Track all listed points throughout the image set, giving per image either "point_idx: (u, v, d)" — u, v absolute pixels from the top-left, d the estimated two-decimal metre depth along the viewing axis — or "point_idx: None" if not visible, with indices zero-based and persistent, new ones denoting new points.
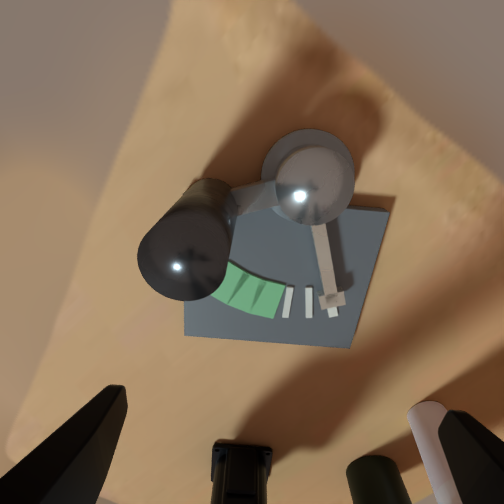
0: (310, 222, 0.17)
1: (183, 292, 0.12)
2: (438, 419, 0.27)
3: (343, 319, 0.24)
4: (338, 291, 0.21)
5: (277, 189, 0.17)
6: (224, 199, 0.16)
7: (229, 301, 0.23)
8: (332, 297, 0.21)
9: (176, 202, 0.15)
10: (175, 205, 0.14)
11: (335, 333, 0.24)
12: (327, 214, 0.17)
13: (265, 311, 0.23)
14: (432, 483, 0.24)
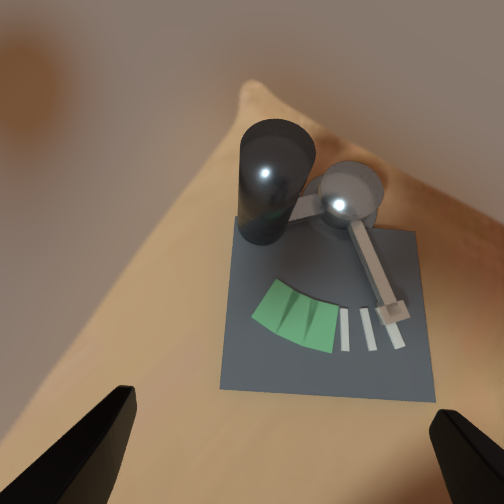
0: (355, 213, 0.20)
1: (277, 174, 0.13)
2: None
3: (413, 353, 0.20)
4: (397, 301, 0.20)
5: (323, 188, 0.20)
6: None
7: (278, 329, 0.20)
8: (393, 307, 0.20)
9: None
10: None
11: (410, 376, 0.19)
12: (367, 206, 0.20)
13: (321, 342, 0.20)
14: None
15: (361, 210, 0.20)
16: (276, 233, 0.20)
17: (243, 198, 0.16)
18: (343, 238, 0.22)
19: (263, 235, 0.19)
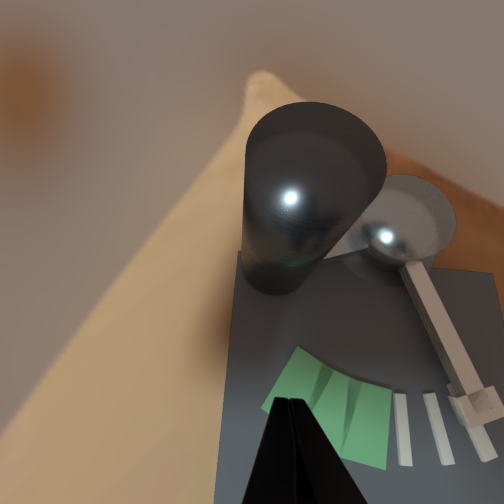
0: (416, 252, 0.13)
1: (318, 202, 0.07)
2: None
3: None
4: (484, 387, 0.13)
5: (367, 213, 0.14)
6: None
7: None
8: (480, 399, 0.13)
9: None
10: None
11: None
12: (435, 242, 0.14)
13: (369, 450, 0.13)
14: None
15: (425, 247, 0.13)
16: (299, 282, 0.13)
17: (250, 236, 0.10)
18: (391, 283, 0.16)
19: (280, 285, 0.13)
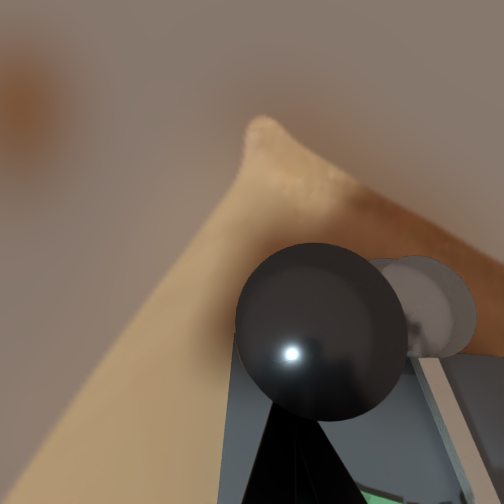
0: (432, 352, 0.12)
1: (322, 395, 0.06)
2: None
3: None
4: None
5: None
6: None
7: None
8: None
9: None
10: None
11: None
12: (452, 340, 0.12)
13: None
14: None
15: (442, 347, 0.12)
16: None
17: (243, 365, 0.09)
18: None
19: None
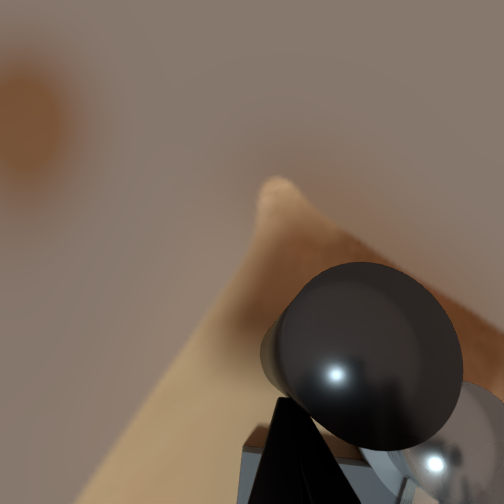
0: (438, 492, 0.10)
1: (327, 397, 0.06)
2: None
3: None
4: None
5: None
6: None
7: None
8: None
9: None
10: None
11: None
12: (469, 503, 0.10)
13: None
14: None
15: (452, 498, 0.10)
16: None
17: (272, 336, 0.09)
18: None
19: (275, 386, 0.11)
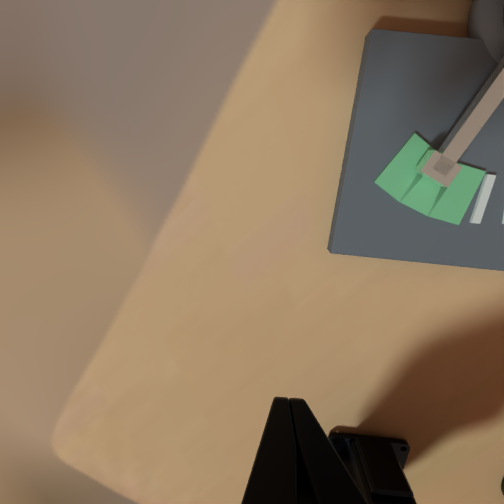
0: None
1: None
2: None
3: None
4: (456, 163, 0.16)
5: None
6: None
7: (403, 197, 0.17)
8: (445, 164, 0.15)
9: None
10: None
11: None
12: None
13: (451, 213, 0.17)
14: None
15: None
16: None
17: None
18: None
19: None
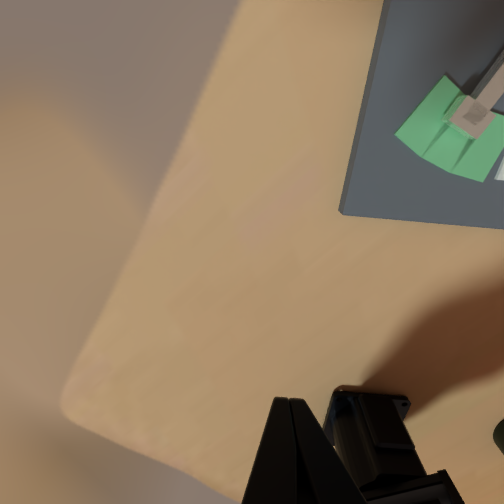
0: None
1: None
2: None
3: None
4: (489, 111, 0.14)
5: None
6: None
7: (426, 151, 0.16)
8: (478, 112, 0.14)
9: None
10: None
11: None
12: None
13: (475, 168, 0.16)
14: None
15: None
16: None
17: None
18: None
19: None
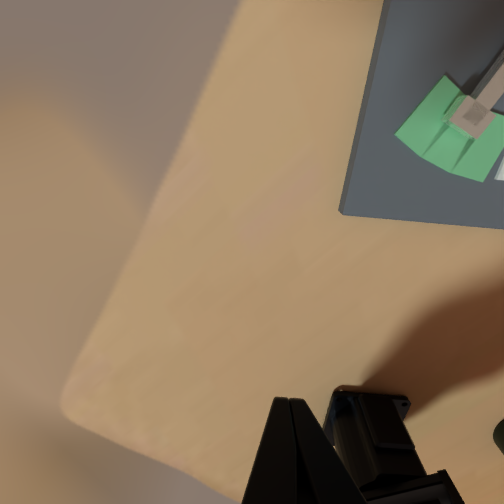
0: None
1: None
2: None
3: None
4: (489, 111, 0.14)
5: None
6: None
7: (426, 151, 0.16)
8: (478, 112, 0.14)
9: None
10: None
11: None
12: None
13: (475, 168, 0.16)
14: None
15: None
16: None
17: None
18: None
19: None
